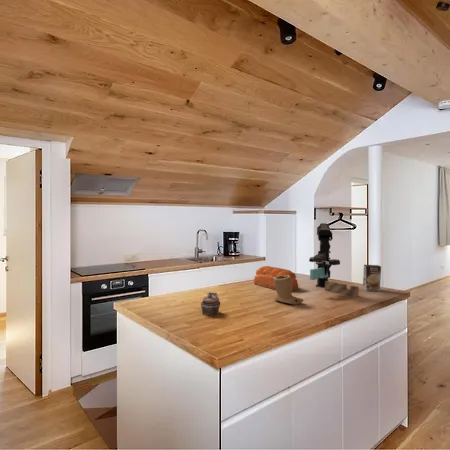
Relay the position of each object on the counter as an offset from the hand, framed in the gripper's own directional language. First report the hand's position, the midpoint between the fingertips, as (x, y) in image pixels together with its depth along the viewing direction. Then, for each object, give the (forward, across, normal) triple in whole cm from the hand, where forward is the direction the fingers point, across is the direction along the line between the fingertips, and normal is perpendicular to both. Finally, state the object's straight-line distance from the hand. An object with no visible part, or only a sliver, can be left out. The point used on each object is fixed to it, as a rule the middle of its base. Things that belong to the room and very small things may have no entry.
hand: (324, 274), depth 214 cm
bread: (+12, -32, -9) cm, 35 cm away
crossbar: (+2, 0, -5) cm, 5 cm away
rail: (+12, +7, +8) cm, 16 cm away
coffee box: (+12, +14, +32) cm, 37 cm away
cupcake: (+12, -10, -80) cm, 81 cm away
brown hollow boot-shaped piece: (+12, 0, -35) cm, 37 cm away
